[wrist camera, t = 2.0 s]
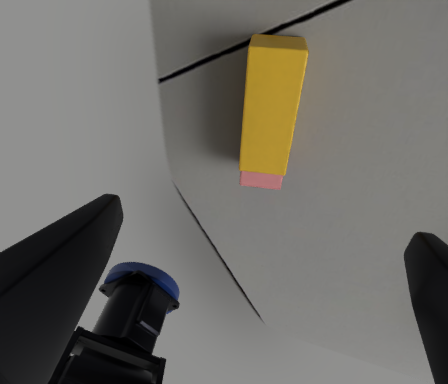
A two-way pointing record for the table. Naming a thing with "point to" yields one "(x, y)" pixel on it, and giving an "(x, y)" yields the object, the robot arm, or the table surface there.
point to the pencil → (270, 107)
